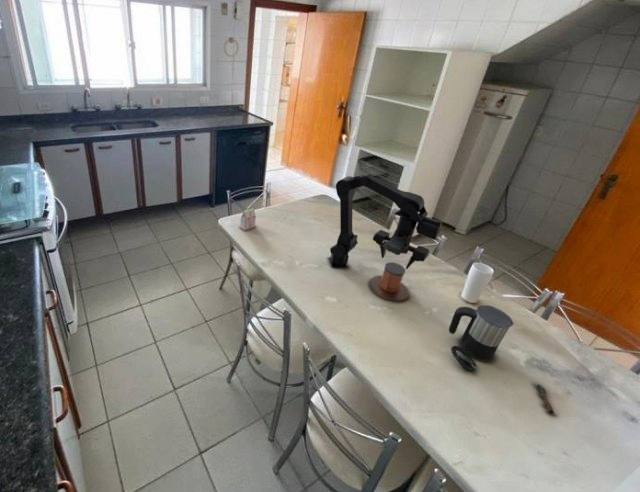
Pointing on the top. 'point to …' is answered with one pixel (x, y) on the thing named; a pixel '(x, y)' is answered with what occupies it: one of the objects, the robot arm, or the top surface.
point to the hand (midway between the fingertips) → (394, 263)
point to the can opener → (545, 399)
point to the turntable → (386, 295)
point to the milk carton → (248, 219)
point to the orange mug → (392, 277)
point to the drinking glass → (476, 282)
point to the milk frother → (479, 333)
